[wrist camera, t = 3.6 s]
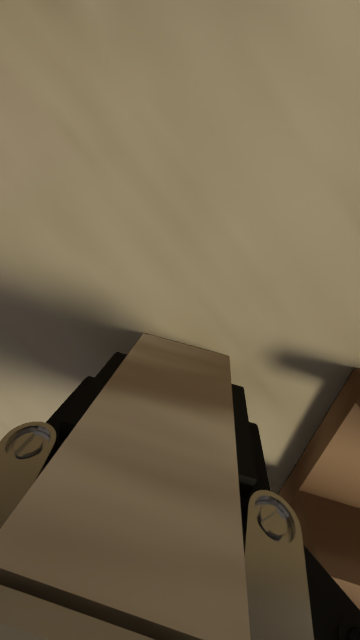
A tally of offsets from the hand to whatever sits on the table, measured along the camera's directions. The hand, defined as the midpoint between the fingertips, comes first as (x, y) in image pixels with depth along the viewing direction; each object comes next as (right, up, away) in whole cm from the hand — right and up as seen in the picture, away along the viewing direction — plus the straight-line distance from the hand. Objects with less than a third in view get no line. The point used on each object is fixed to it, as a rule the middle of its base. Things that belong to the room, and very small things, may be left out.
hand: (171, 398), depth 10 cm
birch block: (0, 0, +1) cm, 1 cm away
